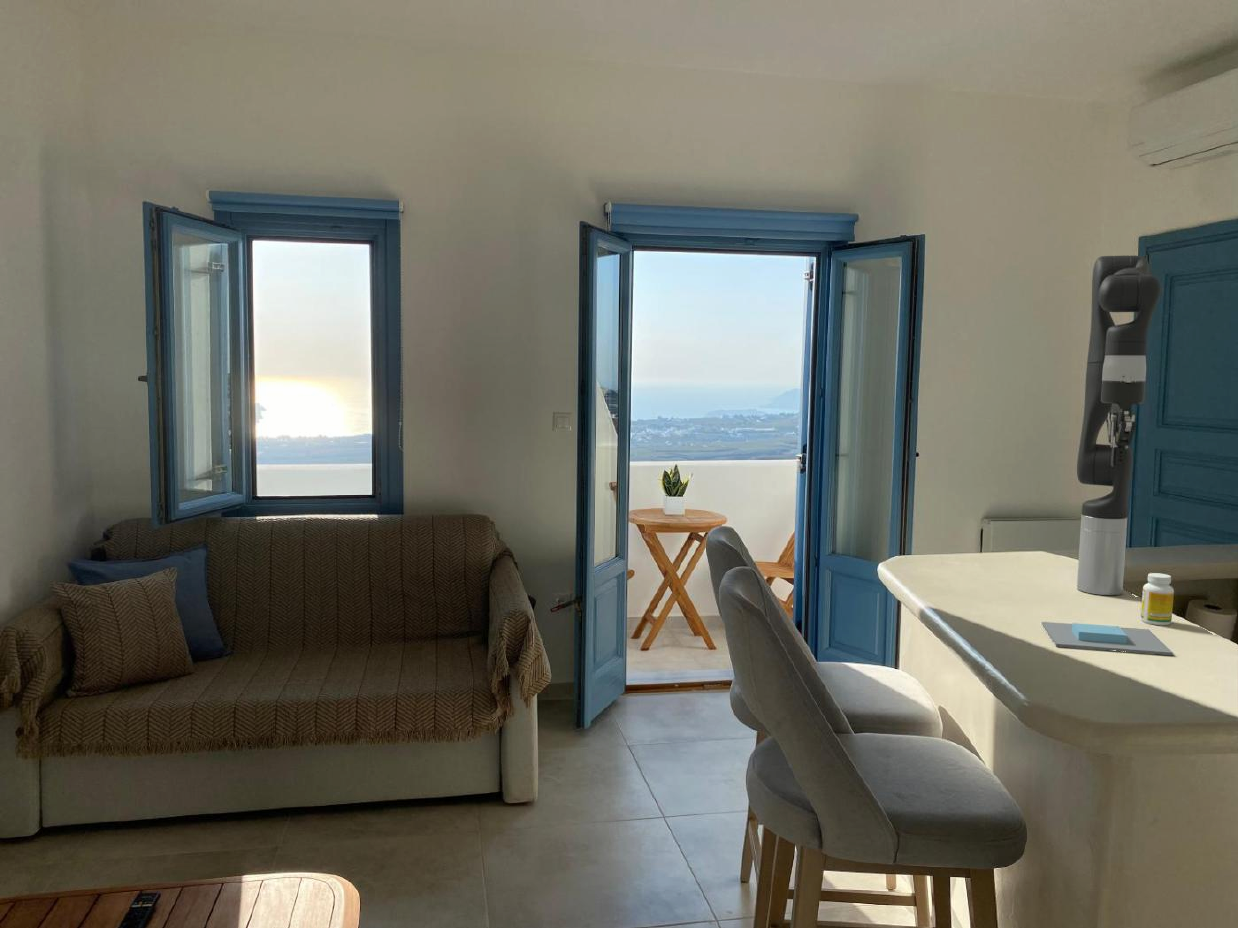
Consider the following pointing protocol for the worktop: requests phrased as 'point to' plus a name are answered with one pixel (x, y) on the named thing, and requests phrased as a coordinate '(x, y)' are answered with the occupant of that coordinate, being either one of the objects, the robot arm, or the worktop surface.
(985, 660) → the worktop surface
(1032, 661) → the worktop surface
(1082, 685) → the worktop surface
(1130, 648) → the mat
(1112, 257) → the robot arm
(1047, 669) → the worktop surface
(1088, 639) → the block
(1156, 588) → the supplement bottle
